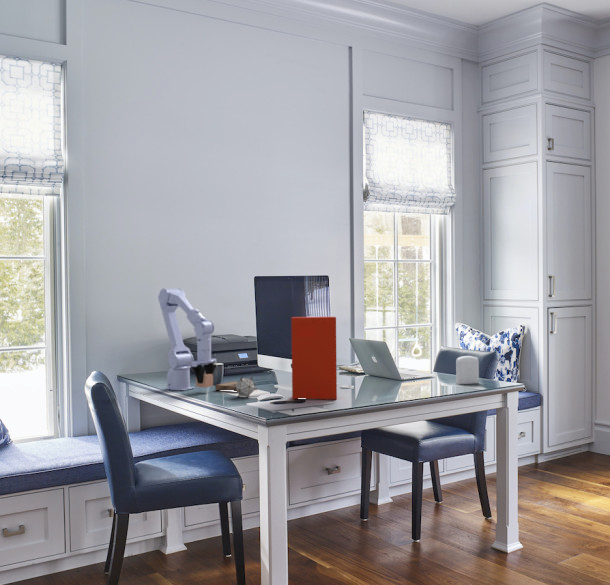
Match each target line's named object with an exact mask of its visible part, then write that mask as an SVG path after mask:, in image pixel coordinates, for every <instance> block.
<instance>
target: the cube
mask: <svg viewBox="0 0 610 585" xmlns="http://www.w3.org/2000/svg"><path fill="white" fill-rule="evenodd" d="M213 386H214V373H213V374H206V373H205V372H204V376H203V383H198V381H197V378H196V377H195V387H197V388H211V387H213Z"/></svg>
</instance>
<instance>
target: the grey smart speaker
mask: <svg viewBox="0 0 610 585" xmlns="http://www.w3.org/2000/svg"><path fill="white" fill-rule="evenodd" d="M479 364H480V363H479V357H477V356H473V355H461V356H459V357H457V358H456V360H455V373H456V374H455V375H456V376H455V378H456V385H469V384H470V385H473V384H476V385H477V384H480V383H479V382H480V376H479V375H480V369H479V368H480V365H479Z"/></svg>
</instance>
